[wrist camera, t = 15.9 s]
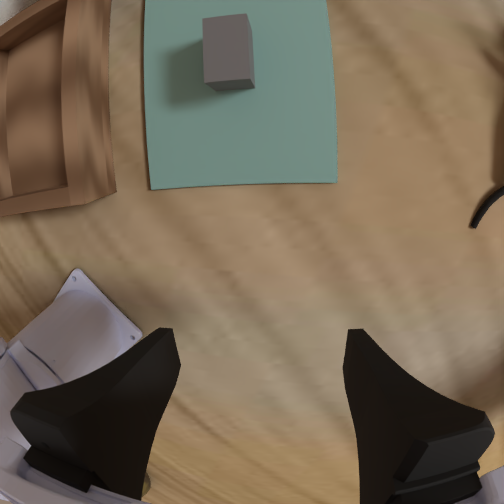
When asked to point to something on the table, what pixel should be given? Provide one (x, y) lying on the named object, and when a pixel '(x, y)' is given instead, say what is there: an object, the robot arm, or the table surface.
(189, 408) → the table surface
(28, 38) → the wooden tray
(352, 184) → the table surface
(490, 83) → the table surface
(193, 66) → the lid
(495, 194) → the bike brake
